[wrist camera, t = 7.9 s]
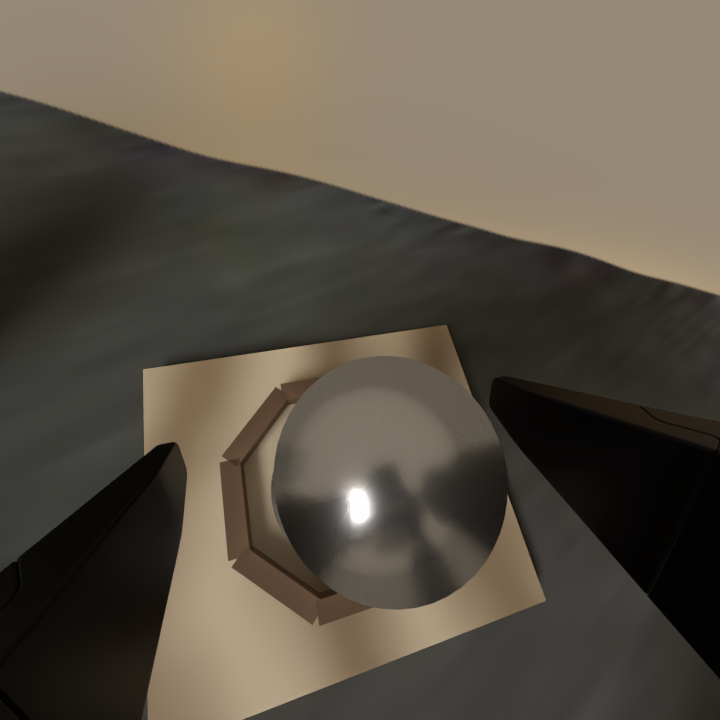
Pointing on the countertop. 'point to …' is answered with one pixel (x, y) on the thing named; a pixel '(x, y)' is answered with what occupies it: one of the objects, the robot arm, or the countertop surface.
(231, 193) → the countertop surface
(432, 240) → the countertop surface
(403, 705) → the countertop surface
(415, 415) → the aluminium hub pin
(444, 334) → the maple board
